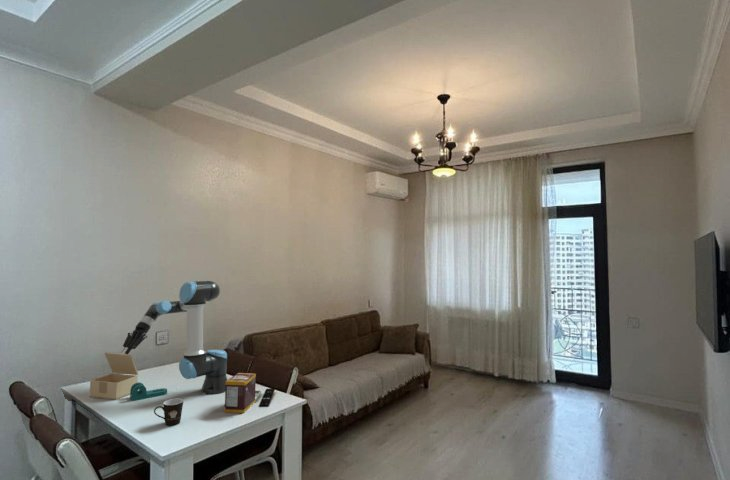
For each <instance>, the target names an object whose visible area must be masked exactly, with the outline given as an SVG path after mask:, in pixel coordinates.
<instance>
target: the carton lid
mask: <svg viewBox="0 0 730 480" xmlns="http://www.w3.org/2000/svg"><path fill="white" fill-rule="evenodd" d="M103 354H104V356H105V358H106V360H107V363H108V365H109V367H110V370H111V372H112V373H113V374H123V375H133V376H138V375H139V371H138V369H137V367H136V364H135V361H134V359H133V356H132V354H129V353H128V354H121V353H115V352H113V353H112V352H104V353H103Z"/></svg>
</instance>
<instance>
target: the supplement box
mask: <svg viewBox="0 0 730 480" xmlns="http://www.w3.org/2000/svg"><path fill="white" fill-rule="evenodd" d="M256 375H257V373H251V372H250V373H249V372H248V373H246V372H245V373H244V372H238V373H236V374H235V375H233V376H232V377H230V378H228V379H227V381H226V384H225V392H224V413H232V414H233V413H237V414H244V413H246V412H245V411H248V410H249V409H250V408H251V407H252V406H253V405H254V404H255V403H256V385H257V384H256V383H257V379H256V378H257V376H256ZM254 402H255V403H254ZM253 403H254V404H253ZM252 404H253V405H252ZM251 405H252V406H251ZM250 406H251V407H250Z"/></svg>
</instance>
